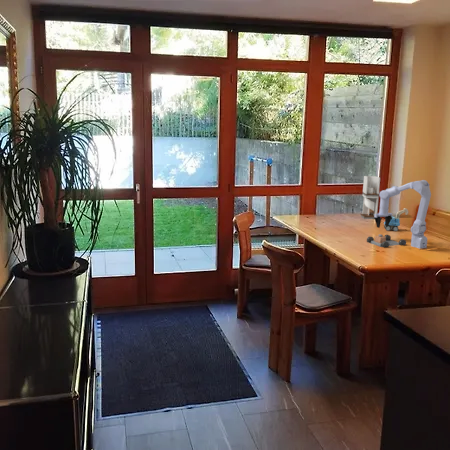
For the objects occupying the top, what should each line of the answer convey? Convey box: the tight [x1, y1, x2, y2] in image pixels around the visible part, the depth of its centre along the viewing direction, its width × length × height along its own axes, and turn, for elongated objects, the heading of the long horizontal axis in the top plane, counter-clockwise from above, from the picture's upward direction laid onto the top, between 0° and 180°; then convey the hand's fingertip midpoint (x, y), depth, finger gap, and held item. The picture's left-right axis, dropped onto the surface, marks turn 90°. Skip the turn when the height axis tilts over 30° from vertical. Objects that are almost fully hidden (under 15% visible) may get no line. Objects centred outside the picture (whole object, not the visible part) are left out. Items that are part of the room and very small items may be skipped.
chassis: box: [366, 234, 407, 249], centre depth 324 cm, size 16×20×5 cm
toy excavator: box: [383, 207, 409, 232], centre depth 368 cm, size 9×17×17 cm, turn 78°
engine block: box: [374, 233, 386, 243], centre depth 322 cm, size 5×4×6 cm
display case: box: [360, 175, 381, 220], centre depth 413 cm, size 11×11×35 cm
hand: (382, 227), depth 335 cm, fingers open, 7 cm apart
